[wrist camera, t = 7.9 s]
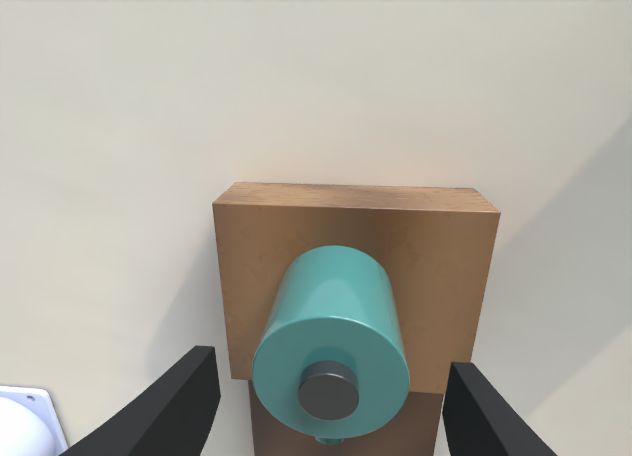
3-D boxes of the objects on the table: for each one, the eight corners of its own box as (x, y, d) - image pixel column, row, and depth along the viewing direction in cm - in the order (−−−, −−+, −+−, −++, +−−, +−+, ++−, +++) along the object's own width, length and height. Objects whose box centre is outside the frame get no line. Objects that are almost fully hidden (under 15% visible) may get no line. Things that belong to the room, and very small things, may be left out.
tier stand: (257, 447, 24) (244, 498, 21) (235, 182, 17) (211, 202, 14) (427, 462, 23) (438, 518, 20) (474, 188, 16) (501, 211, 13)
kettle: (277, 242, 15) (239, 324, 10) (397, 247, 14) (422, 335, 9) (282, 369, 17) (254, 488, 12) (385, 376, 17) (399, 501, 12)
